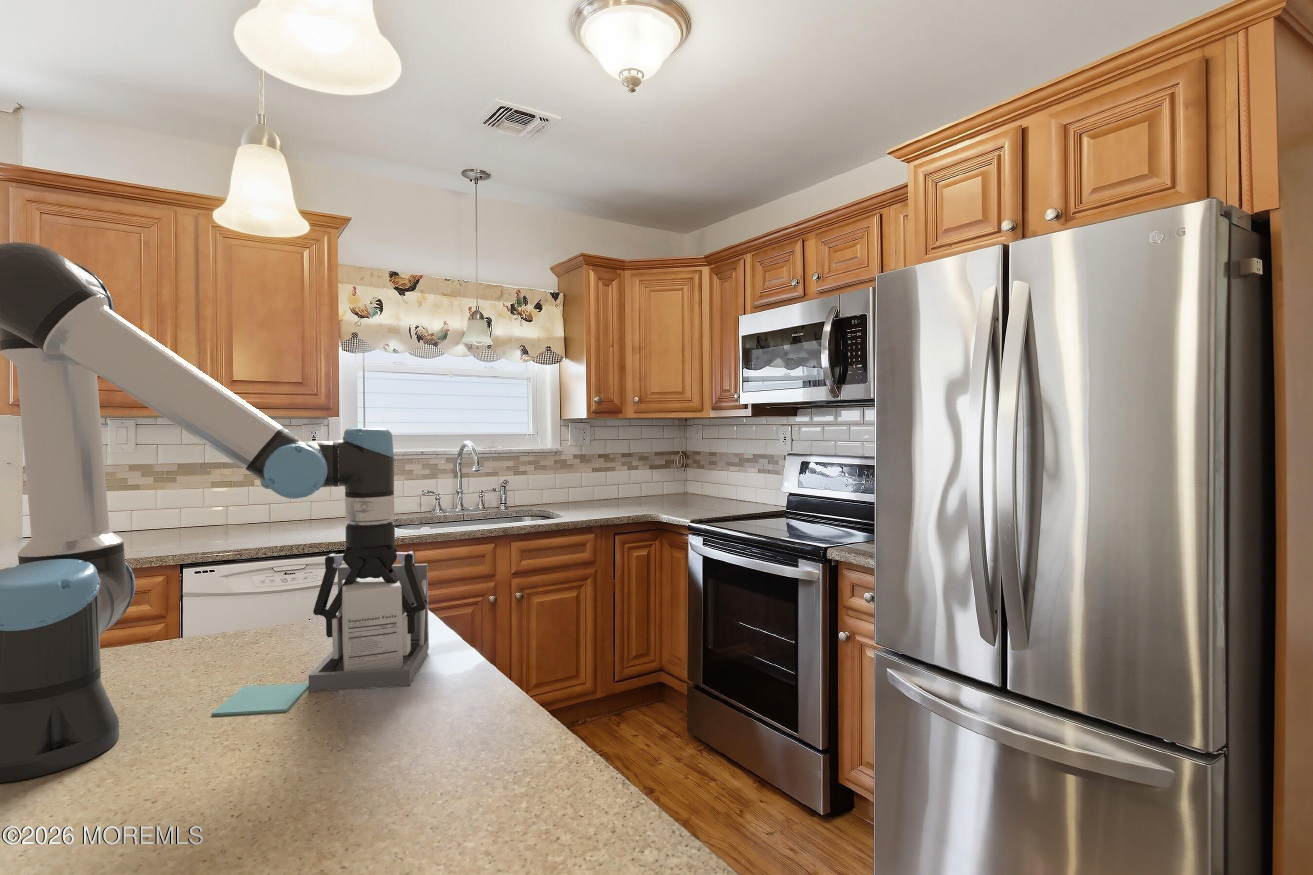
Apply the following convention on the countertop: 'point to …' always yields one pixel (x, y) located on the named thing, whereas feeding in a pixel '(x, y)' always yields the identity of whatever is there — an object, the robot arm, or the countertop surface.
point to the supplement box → (372, 625)
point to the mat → (262, 699)
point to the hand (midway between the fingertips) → (372, 654)
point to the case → (330, 680)
